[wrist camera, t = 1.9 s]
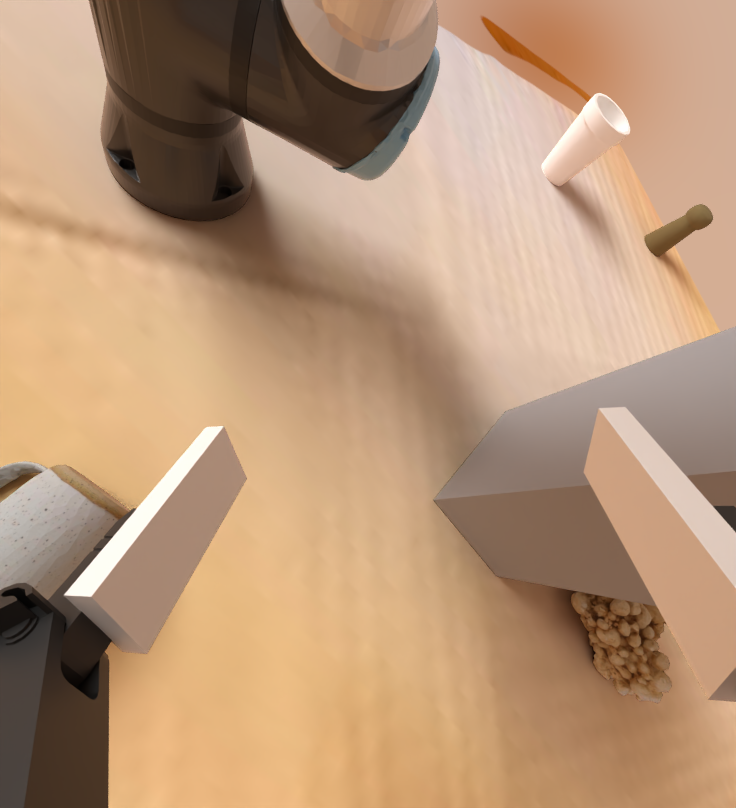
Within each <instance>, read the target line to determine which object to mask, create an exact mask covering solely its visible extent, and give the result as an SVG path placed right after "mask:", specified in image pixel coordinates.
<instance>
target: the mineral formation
mask: <svg viewBox="0 0 736 808" xmlns="http://www.w3.org/2000/svg"><path fill="white" fill-rule="evenodd" d="M571 604H572V606H573V608H574V609H575V610H576V612H577V613H579V614H581V617H580V620H581V621H582V622H583V625H584V626H585V628H586V629H587V630H588V631H589V636H588V637H589V638H590V645H591V646H593V648H594V651H595V652H596V654H595V655H594V660H593V664H594V666H595V667H596V669H597V670H598V671H599V672H600V674H601V675H602V676H603V677H605V678H606V679H607V680H609V679H610V678H611V677H612V678H614V679H615V680H614V681H613V684H614V686H615V688H616V690H617V691H618V692H619V693H620V694H621V695H622V696H623V695H626V694H630V695H633V694H636V697H637V699H638V700H639V701H652V702H655V703H659V702H660V701H661V698H662V695H663V694H662V692H668V691H669V690H670V688H671V687H672V684H671V681H670V678H669V677H668V676H667V675H666V674H665V673H664V670H668V669H669V664H670V663H669V660H668V658H667V656H666V655H664V654H663V653H661V652H659V651H658V650H659V646H658V643H657V642H656V641H655V640H657V639H658V638H660V634H661V633H662V632H663V631H664V623H665V624H666V622H665V620H664V618H663V617H662V615H661V613H660V611H659V609H658V607H657V606H652V605H647V604H642V603H636V602H631V601H626V600H620V599H615V598H610V597H604V596H599V595H594V594H588V593H586V594H585V593H583V592H578V591H577V592H575V593H574V594H572V597H571ZM666 625H667V624H666Z"/></svg>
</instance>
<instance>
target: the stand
mask: <svg viewBox="0 0 736 808" xmlns="http://www.w3.org/2000/svg"><path fill="white" fill-rule="evenodd" d="M612 407H626V408H627V409H628V411H629V412H630V413H631V414H632V415H633V416H634V417H635V419H636V420H637V421H638V422H639V423H640V424H641V425H642V426H643V428H644V429H645V430H646V431H647V432H648V433H649V434H650V436H651V437H652V438H653V439H654V440H655V441H656V442H657V444H658V445H659V446H660V447H661V448H662V449H663V450H664V451H665V453H666V454H667V455H668V456H669V457H670V458H671V459H672V461H673V462H674V463H675V464H676V465H677V466H678V467H679V469H680V470H681V471H682V472H683V473H684V474H685V475H686V476H687V478H688V479H689V480H690V481H691V482H692V483H693V484H694V486H695V487H696V488H697V489H698V490H699V491H700V492H701V494H702V495H703V496H704V497H705V498H706V499H707V500H708V502H709V503H710V504H711V505H712V506H735V507H736V327H733V328H730V329H728V330H725V331H722V332H719V333H717V334H714V335H711V336H709V337H706V338H703V339H700V340H698V341H695V342H692V343H690V344H687V345H684V346H681V347H679V348H676V349H673V350H671V351H668V352H665V353H662V354H660V355H657V356H654V357H652V358H649V359H646V360H643V361H641V362H638V363H635V364H633V365H630V366H627V367H625V368H622V369H619V370H616V371H614V372H611V373H608V374H606V375H603V376H600V377H597V378H595V379H592V380H589V381H587V382H584V383H581V384H578V385H576V386H573V387H570V388H568V389H565V390H562V391H559V392H557V393H554V394H551V395H549V396H546V397H543V398H541V399H538V400H535V401H532V402H530V403H527V404H524V405H522V406H519V407H516V408H513V409H511V410H508V411H505V412H504V414H503V415H502V416H501V417H500V419H499V420H498V421H497V422H496V423H495V425H494V426H493V427H492V428H491V430H490V431H489V432H488V433H487V435H486V436H485V437H484V438H483V439H482V441H481V442H480V443H479V444H478V446H477V447H476V448H475V449H474V450H473V452H472V453H471V454H470V455H469V457H468V458H467V459H466V460H465V462H464V463H463V464H462V465H461V466H460V468H459V469H458V470H457V471H456V473H455V474H454V475H453V476H452V477H451V479H450V480H449V481H448V482H447V484H446V485H445V486H444V487H443V488H442V490H441V491H440V492H439V493H438V495H437V496H436V497H435V498H434V502H435V503H436V504H437V505H438V506H439V508H440V509H441V510H442V511H443V512H444V514H445V515H446V516H447V517H448V518H449V520H450V521H451V522H452V523H453V524H454V526H455V527H456V528H457V529H458V530H459V532H460V533H461V534H462V535H463V536H464V538H465V539H466V540H467V541H468V542H469V544H470V545H471V546H472V547H473V548H474V550H475V551H476V552H477V553H478V554H479V556H480V557H481V558H482V559H483V560H484V562H485V563H486V564H487V565H488V566H489V568H490V569H491V570H492V571H493V572H494V574H495V575H496V576H498V577H503V578H509V579H514V580H519V581H525V582H530V583H535V584H541V585H546V586H551V587H557V588H562V589H567V590H572V591H578V592H583V593H588V594H594V595H599V596H604V597H610V598H615V599H620V600H626V601H631V602H636V603H642V604H647V605H652V606H656V604H655V602H654V600H653V598H652V596H651V595H650V593H649V591H648V589H647V587H646V585H645V584H644V582H643V580H642V578H641V576H640V574H639V573H638V571H637V569H636V567H635V565H634V564H633V562H632V560H631V558H630V556H629V554H628V553H627V551H626V549H625V547H624V545H623V543H622V542H621V540H620V538H619V536H618V534H617V532H616V531H615V529H614V527H613V525H612V523H611V521H610V520H609V518H608V516H607V514H606V512H605V511H604V509H603V507H602V505H601V503H600V501H599V500H598V498H597V496H596V494H595V492H594V490H593V489H592V487H591V485H590V483H589V481H588V479H587V478H586V476H585V474H584V468H585V464H586V460H587V455H588V451H589V447H590V443H591V438H592V434H593V430H594V425H595V421H596V417H597V412H598V408H612Z"/></svg>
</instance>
